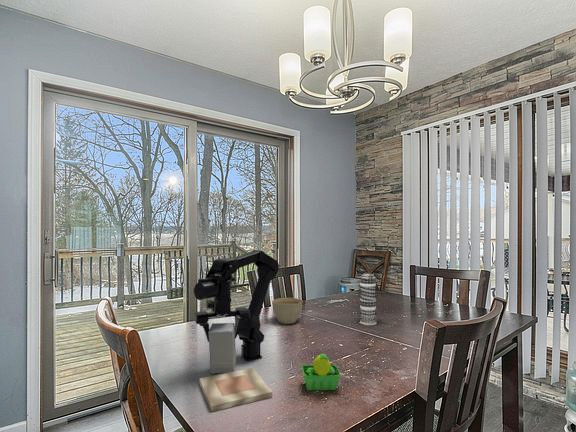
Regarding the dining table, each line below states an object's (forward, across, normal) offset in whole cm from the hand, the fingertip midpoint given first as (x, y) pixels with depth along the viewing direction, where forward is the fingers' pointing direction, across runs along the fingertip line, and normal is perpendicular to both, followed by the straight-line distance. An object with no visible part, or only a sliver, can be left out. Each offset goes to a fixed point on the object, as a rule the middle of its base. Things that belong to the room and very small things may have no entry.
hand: (222, 339), depth 116 cm
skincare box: (+10, 0, 0) cm, 10 cm away
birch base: (+11, 0, +15) cm, 18 cm away
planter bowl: (+11, -45, -43) cm, 63 cm away
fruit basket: (+11, -25, +25) cm, 37 cm away
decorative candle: (+10, -82, -23) cm, 86 cm away
